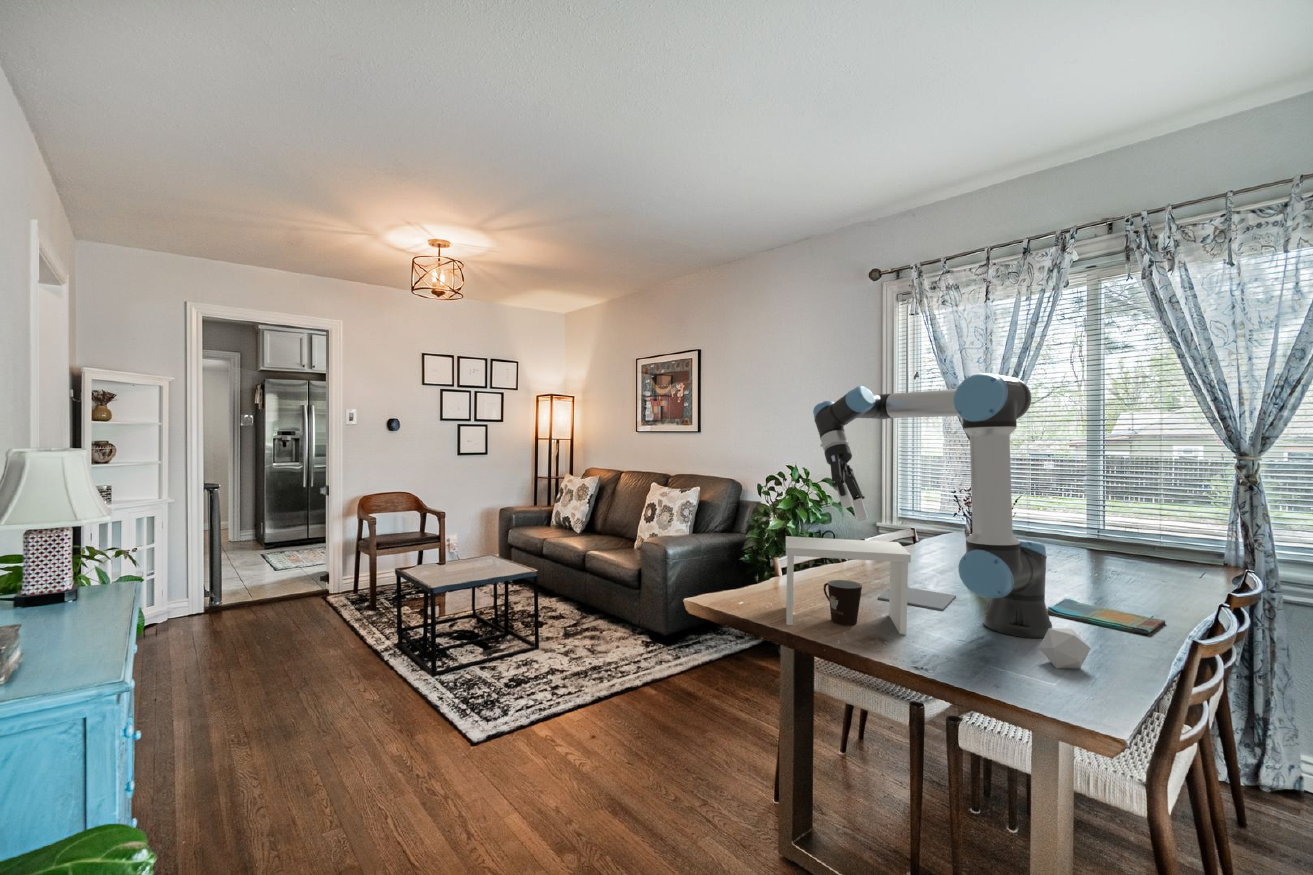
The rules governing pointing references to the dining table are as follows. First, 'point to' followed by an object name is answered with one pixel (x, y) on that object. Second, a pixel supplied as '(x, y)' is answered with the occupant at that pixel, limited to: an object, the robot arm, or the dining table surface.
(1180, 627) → the dining table surface
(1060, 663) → the die
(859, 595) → the coffee mug
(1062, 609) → the dish towel
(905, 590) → the shelf stand
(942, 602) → the placemat
